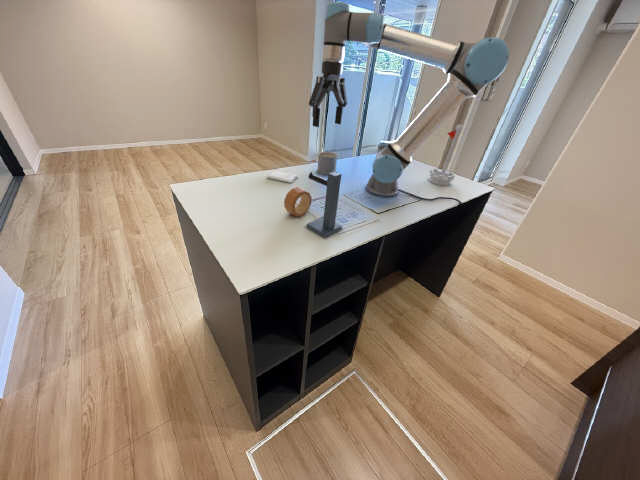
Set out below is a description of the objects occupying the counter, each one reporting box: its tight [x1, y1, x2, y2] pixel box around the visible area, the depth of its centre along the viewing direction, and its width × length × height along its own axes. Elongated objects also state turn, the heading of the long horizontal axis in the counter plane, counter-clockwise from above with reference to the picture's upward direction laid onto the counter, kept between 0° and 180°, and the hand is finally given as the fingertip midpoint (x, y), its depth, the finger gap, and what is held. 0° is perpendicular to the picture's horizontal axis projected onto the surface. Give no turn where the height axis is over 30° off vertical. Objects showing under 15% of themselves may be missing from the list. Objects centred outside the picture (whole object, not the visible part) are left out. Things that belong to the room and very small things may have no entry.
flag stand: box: [428, 124, 463, 187], centre depth 133 cm, size 13×13×30 cm
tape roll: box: [283, 186, 313, 218], centre depth 95 cm, size 10×5×10 cm, turn 137°
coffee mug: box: [317, 151, 338, 177], centre depth 137 cm, size 13×10×10 cm
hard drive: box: [267, 170, 298, 184], centre depth 126 cm, size 2×8×12 cm
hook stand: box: [306, 171, 343, 239], centre depth 86 cm, size 9×13×21 cm
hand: (327, 125), depth 102 cm, fingers open, 13 cm apart
